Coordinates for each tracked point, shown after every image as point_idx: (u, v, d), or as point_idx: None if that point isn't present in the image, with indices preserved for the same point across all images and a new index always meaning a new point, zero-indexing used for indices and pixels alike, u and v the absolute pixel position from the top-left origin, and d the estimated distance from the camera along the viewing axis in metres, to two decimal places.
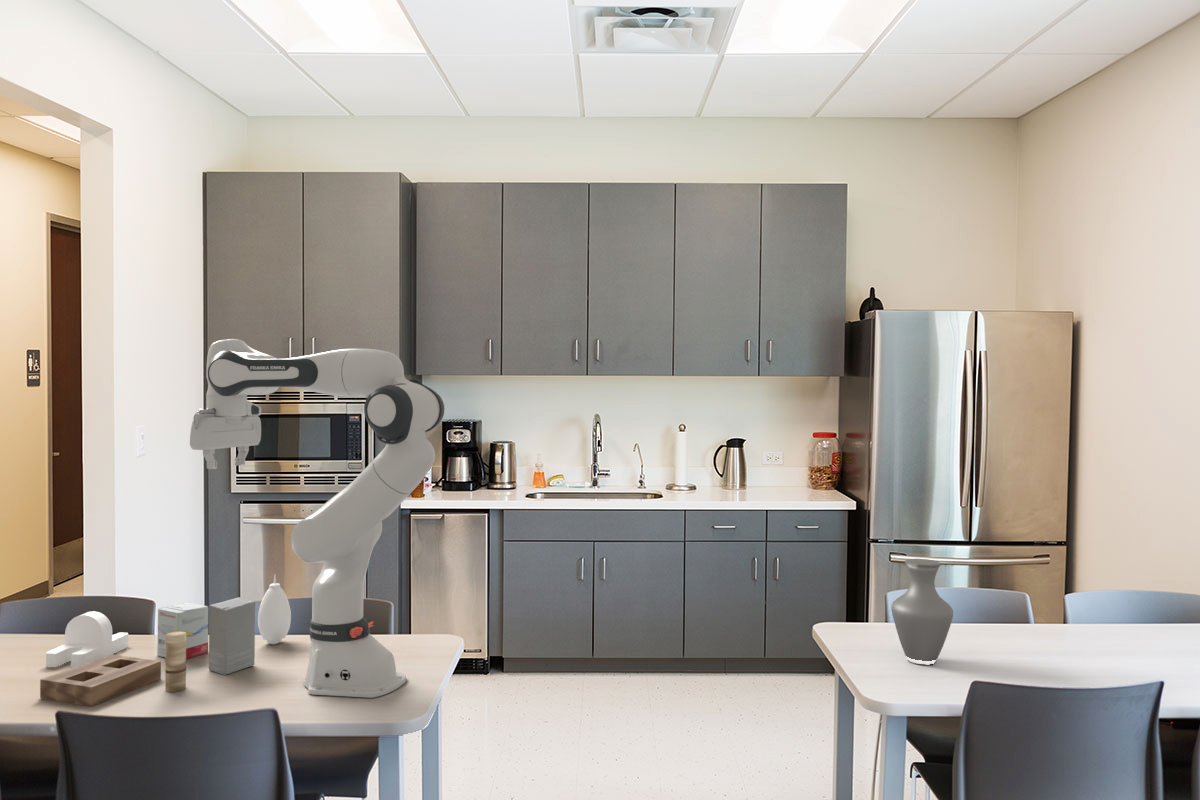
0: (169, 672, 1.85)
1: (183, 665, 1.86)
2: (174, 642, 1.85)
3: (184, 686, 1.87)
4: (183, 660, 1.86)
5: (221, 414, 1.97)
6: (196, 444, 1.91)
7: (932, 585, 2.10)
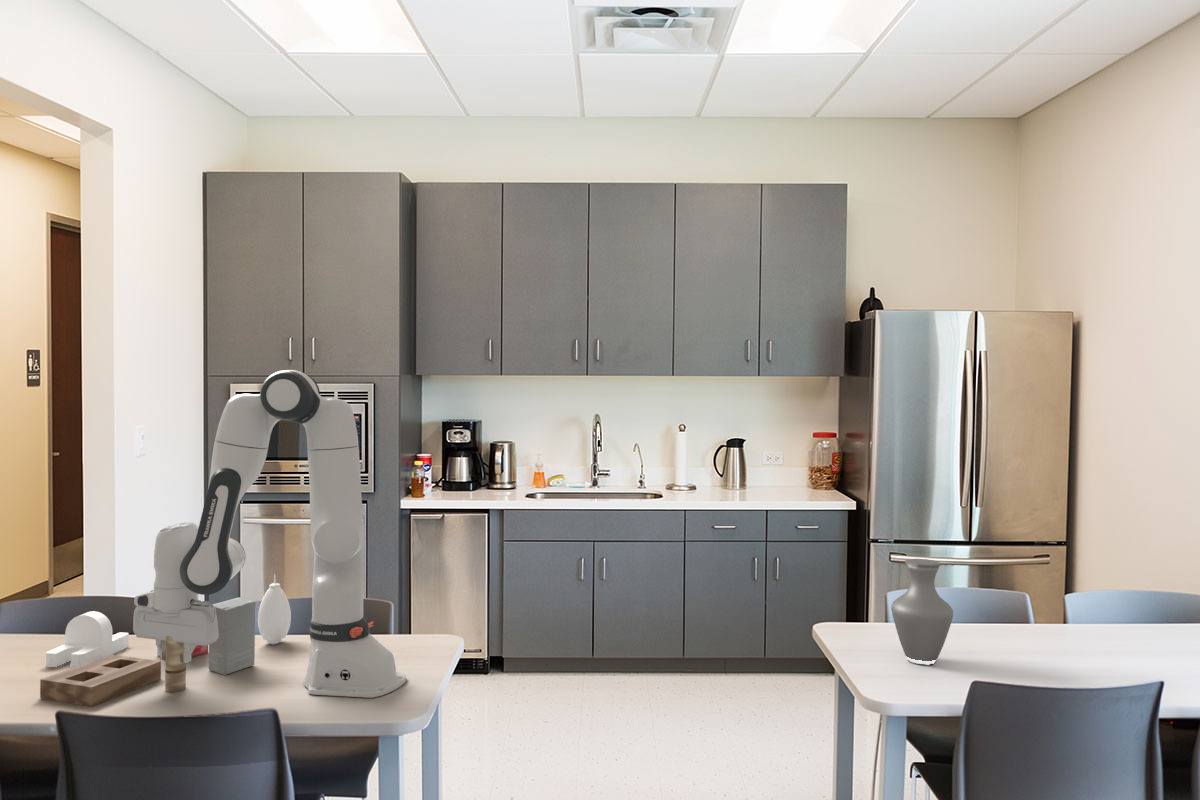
0: (169, 672, 1.85)
1: (183, 665, 1.86)
2: (174, 642, 1.85)
3: (184, 686, 1.87)
4: None
5: None
6: (214, 638, 1.84)
7: (932, 585, 2.10)
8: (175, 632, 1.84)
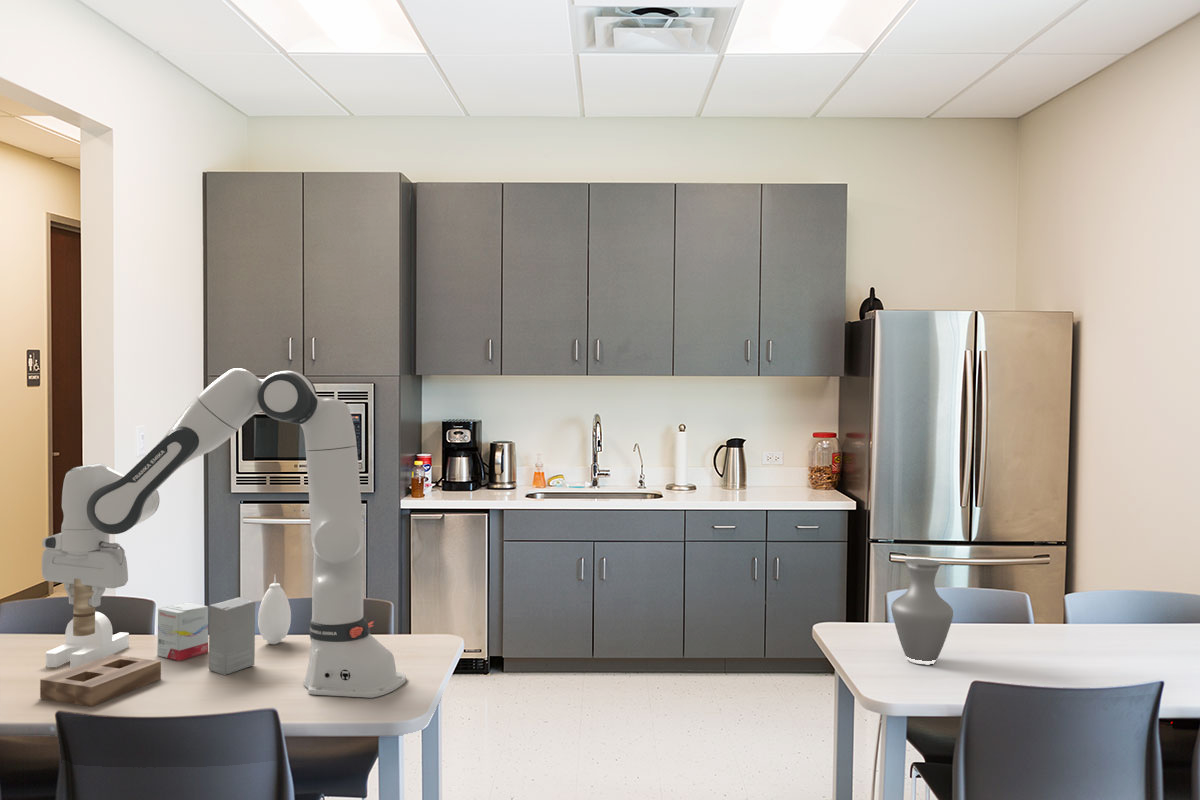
0: (76, 616, 1.80)
1: (92, 609, 1.81)
2: (82, 585, 1.80)
3: (93, 631, 1.82)
4: None
5: None
6: (123, 581, 1.79)
7: (932, 585, 2.10)
8: (83, 574, 1.80)
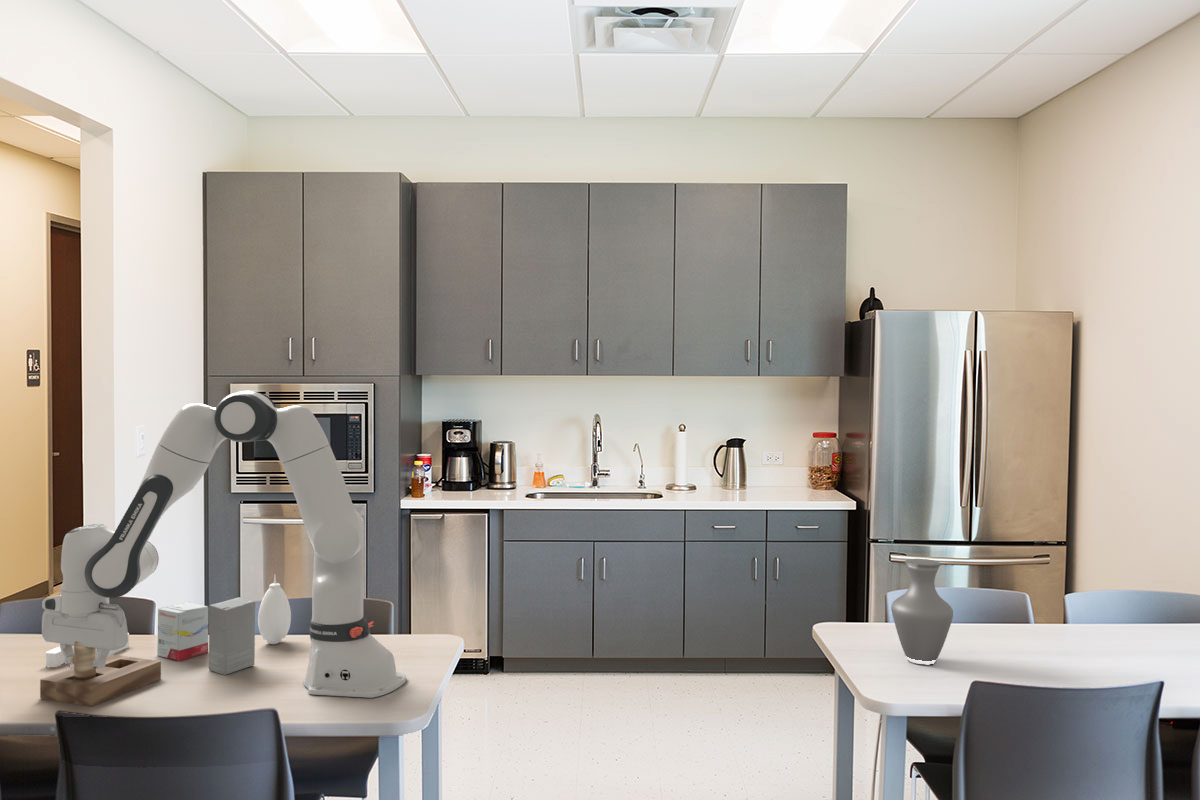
0: (77, 678, 1.80)
1: (92, 671, 1.82)
2: (82, 647, 1.80)
3: None
4: None
5: None
6: (123, 642, 1.79)
7: (932, 585, 2.10)
8: (83, 636, 1.80)
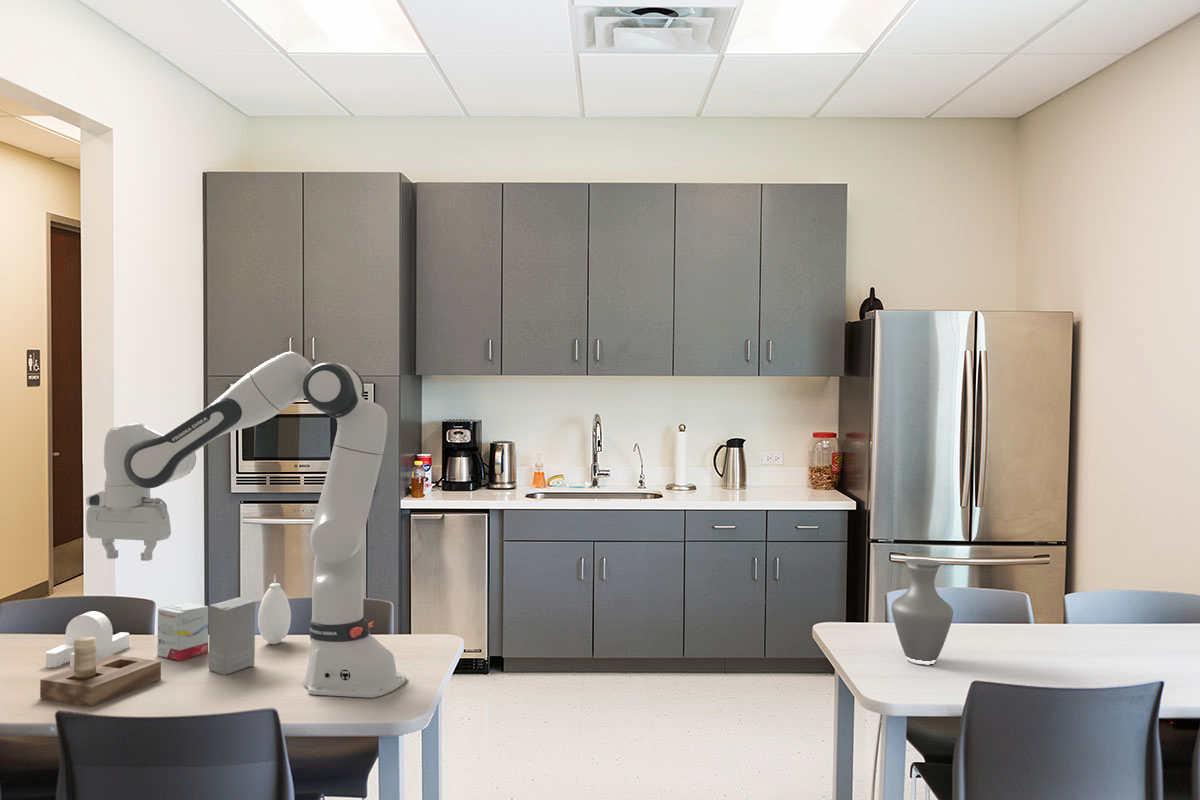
0: (77, 678, 1.80)
1: (92, 671, 1.82)
2: (82, 647, 1.80)
3: None
4: (93, 666, 1.82)
5: None
6: (166, 534, 1.86)
7: (932, 585, 2.10)
8: (127, 529, 1.87)
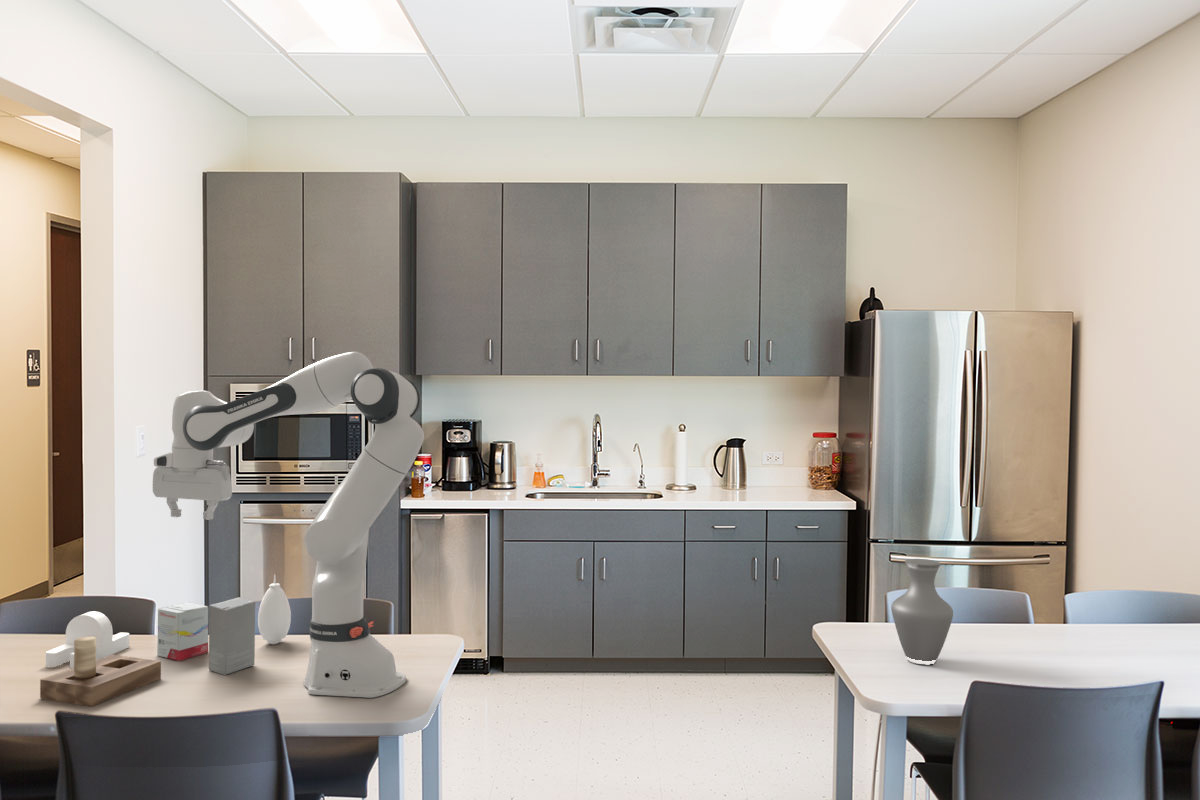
0: (77, 678, 1.80)
1: (92, 671, 1.82)
2: (82, 647, 1.80)
3: None
4: (93, 666, 1.82)
5: None
6: (228, 495, 1.98)
7: (932, 585, 2.10)
8: (191, 489, 1.99)
